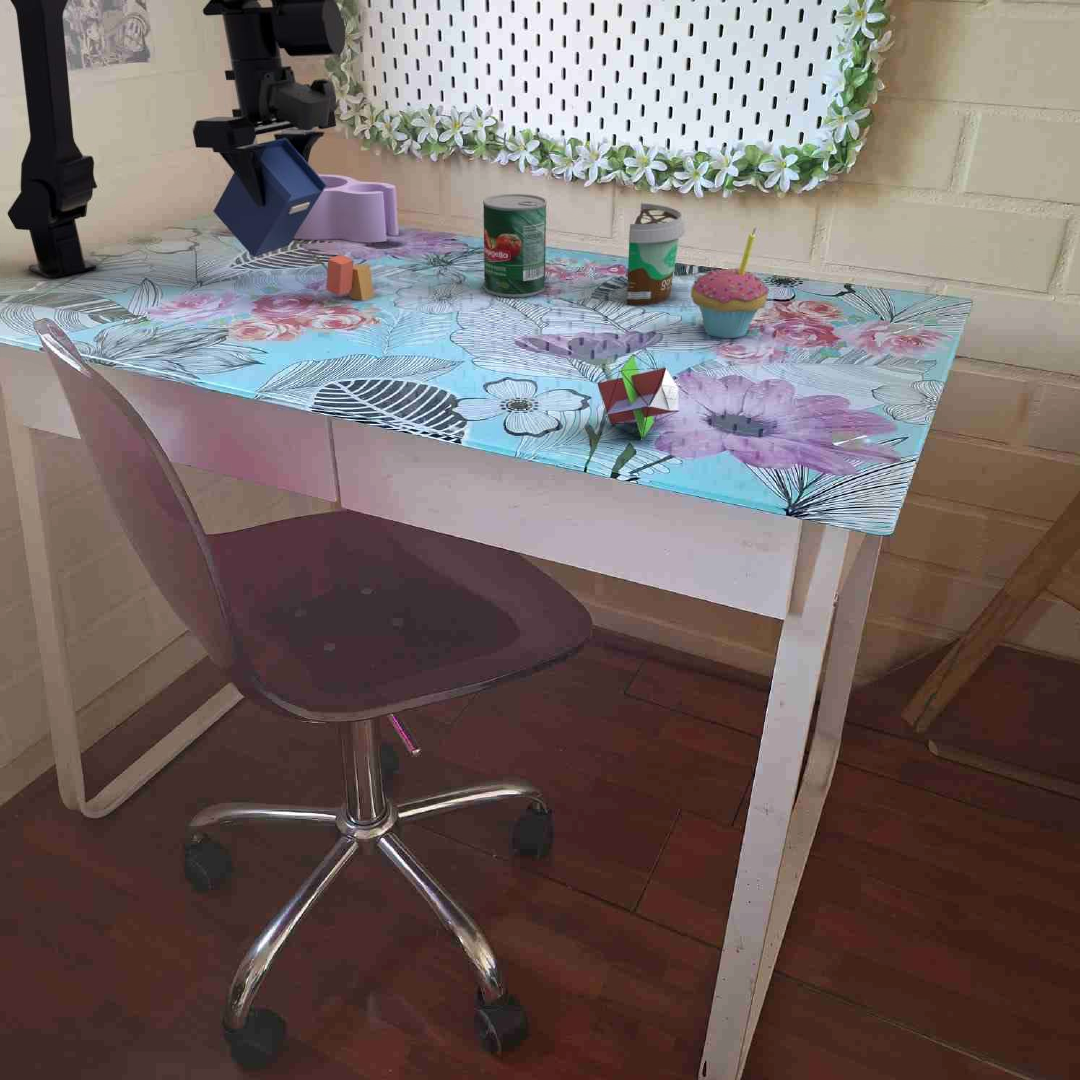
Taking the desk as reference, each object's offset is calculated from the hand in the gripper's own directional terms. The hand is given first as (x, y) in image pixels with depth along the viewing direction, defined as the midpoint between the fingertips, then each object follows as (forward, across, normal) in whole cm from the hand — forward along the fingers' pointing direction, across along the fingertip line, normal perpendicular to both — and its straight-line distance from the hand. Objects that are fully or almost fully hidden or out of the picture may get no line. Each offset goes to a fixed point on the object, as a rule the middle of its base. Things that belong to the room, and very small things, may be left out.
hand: (280, 200), depth 121 cm
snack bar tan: (+10, +2, -8) cm, 13 cm away
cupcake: (+15, +12, -53) cm, 56 cm away
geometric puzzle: (+15, -18, -55) cm, 59 cm away
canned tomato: (+13, +14, -24) cm, 31 cm away
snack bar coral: (+8, -1, -8) cm, 11 cm away
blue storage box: (+4, 0, +6) cm, 7 cm away
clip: (+10, +26, +14) cm, 32 cm away
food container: (+14, +21, -41) cm, 48 cm away
